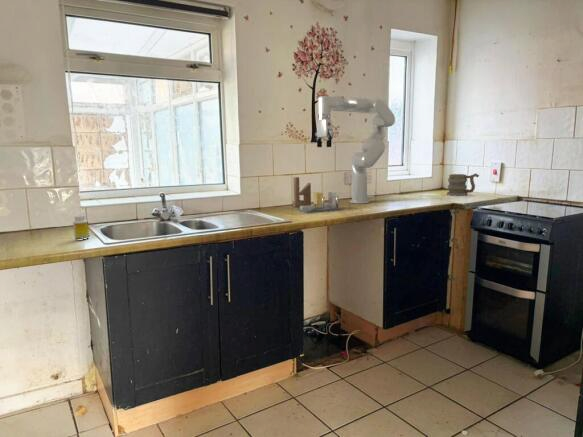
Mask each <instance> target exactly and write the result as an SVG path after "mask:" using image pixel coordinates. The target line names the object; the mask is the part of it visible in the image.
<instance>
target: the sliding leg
mask: <svg viewBox="0 0 583 437" xmlns="http://www.w3.org/2000/svg"><path fill="white" fill-rule="evenodd" d="M312 194H313V199H312V200H313V203H312V205H316V208H320V207H322V208H324V204H325V200H326V197H325V196H324V192H322V191H314V192H313V193H312Z"/></svg>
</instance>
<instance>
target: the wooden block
mask: <svg viewBox="0 0 583 437" xmlns="http://www.w3.org/2000/svg"><path fill="white" fill-rule="evenodd" d="M292 181H293V182H292V184H293V186H292V188H293V200H292V207H294V208H300V206H305V205H312V197H311V196H312V195H311V194H312V192H311V191H312V186H311V182H307V184H305V185H304V187H303V188H302V189H301V191H300V177H299V176H294V177H293V179H292ZM300 196H303V199H300Z"/></svg>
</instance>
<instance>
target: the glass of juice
mask: <svg viewBox="0 0 583 437" xmlns="http://www.w3.org/2000/svg"><path fill="white" fill-rule="evenodd" d="M72 225H73V234H74V240H75V239H84V238H88V237H89V238H90V233H89V222H88V220H87V219H86V216H85V214H80V215H75V216H74V220H73V222H72Z"/></svg>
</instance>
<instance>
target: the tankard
mask: <svg viewBox="0 0 583 437" xmlns="http://www.w3.org/2000/svg"><path fill="white" fill-rule="evenodd" d="M448 177H449V178H447V181H448V185H447V189H448V191H447V192H446V195H447V196H451V197H452V196H453V197H463V196H464V197H465V196H468V193H473V192H474V191H475V189H476V184H475V182H474V178H479V177H480V175H479V174H478V173H474V174H471V175H467V174H464V173H461V174H459V173H454V174H449V175H448ZM468 179H469V181H470V186H471V187H470V189H467V187H468V186H467V182H468Z"/></svg>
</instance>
